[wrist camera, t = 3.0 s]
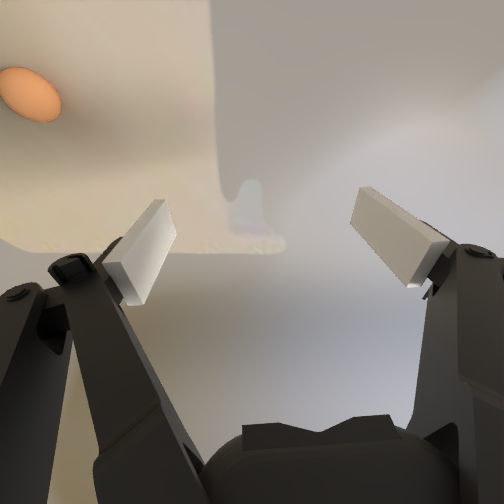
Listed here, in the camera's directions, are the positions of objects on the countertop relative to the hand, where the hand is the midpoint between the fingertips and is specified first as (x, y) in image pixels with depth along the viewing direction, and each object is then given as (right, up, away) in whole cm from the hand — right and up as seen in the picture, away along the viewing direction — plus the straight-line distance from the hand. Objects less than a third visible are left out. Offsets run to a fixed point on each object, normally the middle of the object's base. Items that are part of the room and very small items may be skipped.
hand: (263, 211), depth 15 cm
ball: (-26, +15, +9) cm, 31 cm away
